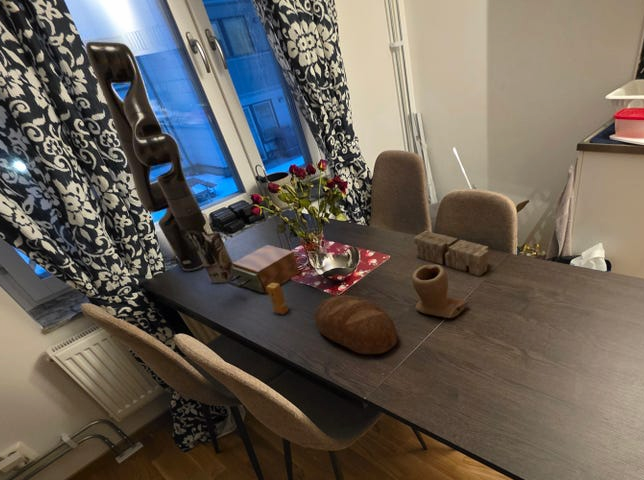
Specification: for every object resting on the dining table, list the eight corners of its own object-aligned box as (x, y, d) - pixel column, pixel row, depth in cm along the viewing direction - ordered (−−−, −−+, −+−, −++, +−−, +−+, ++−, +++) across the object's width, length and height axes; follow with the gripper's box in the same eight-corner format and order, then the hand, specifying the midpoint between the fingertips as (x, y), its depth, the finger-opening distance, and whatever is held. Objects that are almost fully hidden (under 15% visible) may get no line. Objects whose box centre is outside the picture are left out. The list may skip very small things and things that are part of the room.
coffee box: (228, 282, 148) (209, 242, 137) (212, 283, 148) (192, 244, 138) (236, 270, 155) (219, 231, 144) (221, 271, 155) (203, 233, 145)
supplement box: (289, 309, 129) (280, 283, 123) (283, 315, 127) (272, 288, 121) (282, 307, 131) (272, 281, 124) (275, 313, 128) (264, 287, 122)
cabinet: (266, 293, 139) (258, 271, 133) (241, 284, 146) (232, 263, 140) (300, 272, 148) (293, 251, 143) (274, 265, 155) (267, 244, 150)
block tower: (490, 269, 139) (427, 248, 154) (492, 247, 133) (426, 228, 148) (478, 279, 134) (414, 256, 149) (479, 256, 129) (413, 235, 144)
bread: (373, 367, 104) (365, 334, 96) (305, 331, 119) (294, 300, 112) (410, 337, 112) (406, 304, 105) (342, 307, 127) (334, 276, 120)
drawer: (249, 300, 135) (242, 282, 130) (226, 291, 141) (218, 274, 136) (293, 273, 147) (287, 256, 142) (269, 266, 153) (263, 250, 148)
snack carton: (309, 266, 152) (299, 234, 143) (315, 263, 153) (306, 231, 145) (319, 269, 149) (310, 237, 140) (325, 265, 151) (316, 233, 142)
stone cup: (408, 316, 120) (402, 273, 110) (426, 297, 127) (423, 255, 117) (452, 328, 114) (450, 283, 104) (469, 307, 121) (468, 263, 111)
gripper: (210, 209, 114) (233, 262, 126) (185, 203, 120) (210, 254, 132) (187, 219, 110) (213, 273, 121) (163, 212, 116) (190, 264, 127)
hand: (211, 263), depth 126 cm, fingers closed
